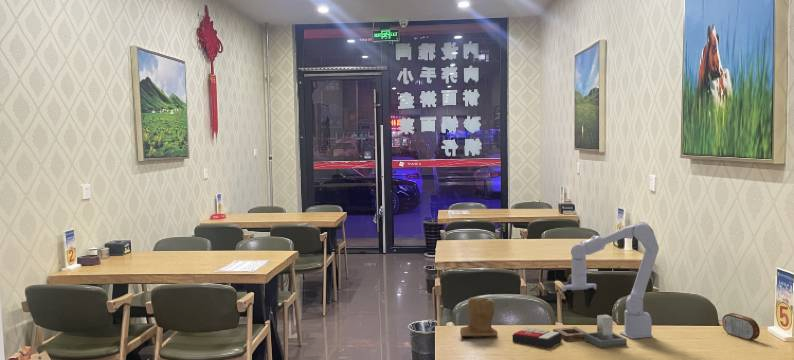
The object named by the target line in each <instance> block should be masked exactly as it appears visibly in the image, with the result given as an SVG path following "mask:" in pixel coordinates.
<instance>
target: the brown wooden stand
mask: <svg viewBox="0 0 794 360" xmlns="http://www.w3.org/2000/svg"><path fill="white" fill-rule="evenodd" d="M467 312H468V317H469V324H468V325H467V326H463V327H461V328H460V330H459V333H460V337H464V338H470V337H471V338H475V337H476V338H479V337H495V336H497V335H498V334H499V333H498V331H497V330H496V329H495V328H493V327H492V321H493V318H494V313H495V302H494V300H493V299H491V298H486V297H469V299H468V302H467Z"/></svg>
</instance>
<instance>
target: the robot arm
mask: <svg viewBox="0 0 794 360" xmlns="http://www.w3.org/2000/svg"><path fill="white" fill-rule="evenodd" d="M624 238H626V239H634V238H635V239H636V240H637V241H638V242H640V243H641V245H642V246H643V248H644V249H645V250H644V251H643V252H644V253H643V256H642V259H641V262H640V265H639V268H638V271H637V275H636V277H635V281H634V283H633V287H632V289H631V292H630V294H629V295H627V296H626V300H625V310H624V331H620V332H619V334H621V336H622V335H623V336H625V337H627V338H630V339H632V340H633V339H644V338H652V337H653V338H654V335H653V334H652V333H653V332H652V327H653V325H652V317H651V315H650V313H649V312H647V311H644V297H645V294H646V290H647V286H648V283H649V280H650V277H651V274H652V271H653V268H654V266H655V262H656V260H657V256H658V253H659V248H660V246H659V244H658V240H657V238H656V235H655V232H654V229H652V227H651V226H650V225H649V224H648V223H647V222H643V221H640V222H637V223H636V224H635V223H634V224H630V225H626V226H625V227H622V228H619V229H617V230H615V231H614V232H611V233H609V234H605V236H600V235H592V236H590V238H589V239H586V240H581V241H580V243H576V244H574V245H573V246H572V248H571V249H570V255H571V283H570V284H564V285H561V287H560V288H561V291H562V293H563V295H564V297H565V300H566V303H567V307H568V309H570V310H572V309H573V308H574V303H573V302H574V301H573V300H574V296H575V292H573V291H580V290H581V291H582V290H583V292H584V293H583V294H584V299H585V300H584V304H585V308H591V303H592V301H593V297H594V296H595V294H596V290H597V284H596V283H587V261H586V260H587V257H586V256H587V255H588V256H590V255H592V254H593V255H594V254H595V253H598V252H600V251H603V250H605V249H606V248H605V247H606V245H609V244H611V243H614V242H617V241H619V240H621V239H624Z"/></svg>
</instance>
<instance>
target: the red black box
mask: <svg viewBox="0 0 794 360" xmlns="http://www.w3.org/2000/svg"><path fill="white" fill-rule="evenodd" d="M511 335H512V343H513V342H514V343H516V344H517V343H518V344H523V345H528V346H534V347H538V348H542V349H547V350H548V349H551V348H553V347H555V346H557V345H559V344H561V343H562V339H561V333H559V332H553V330H551V331H550V330H549V329H539V328H533V327H532V328H531V327H525V328H523V329H520V330H519V331H516V332H514V333H513V334H511ZM560 342H561V343H560ZM558 343H559V344H558ZM556 344H557V345H556ZM554 345H555V346H554Z"/></svg>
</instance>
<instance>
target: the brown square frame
mask: <svg viewBox="0 0 794 360" xmlns="http://www.w3.org/2000/svg"><path fill="white" fill-rule="evenodd" d="M552 331H553V332H559V333H561V338H562V339H561V340H563V339H564V340H563V341H565V342H569V341H568V340H572V341H578V340H577V339H583V340H584V333H588V332H587V331H585V330H583V329H581V328H579V327H576V326H571V327H560V328H553V329H552Z"/></svg>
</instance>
